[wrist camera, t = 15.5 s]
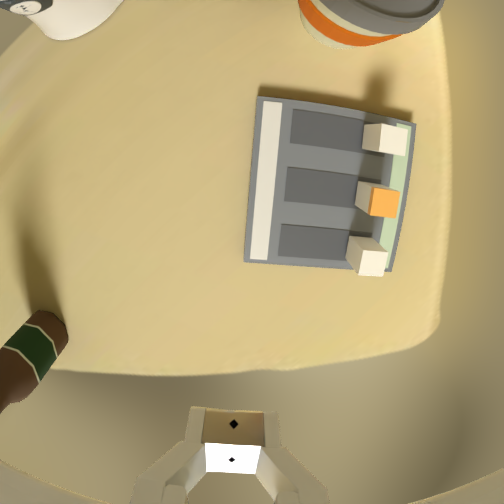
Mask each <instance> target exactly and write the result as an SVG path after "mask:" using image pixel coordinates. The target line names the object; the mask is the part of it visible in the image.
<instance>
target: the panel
mask: <svg viewBox="0 0 504 504" xmlns="http://www.w3.org/2000/svg"><path fill="white" fill-rule="evenodd" d="M381 123H382V124H387V125H391V126H395V127H399V128H404V129H408V134H407V144H406V152H405V156H400V155H394V154H387V153H382V152H376V151H371V150H365V149H362V142H363V133H364V125H367V124H381ZM415 131H416V124H415V123H411V122H407V121H403V120H399V119H395V118H391V117H387V116H383V115H378V114H374V113H369V112H364V111H359V110H354V109H349V108H343V107H338V106H332V105H326V104H319V103H313V102H306V101H298V100H290V99H282V98H272V97H262V96H257V105H256V116H255V128H254V139H253V151H252V163H251V175H250V187H249V199H248V211H247V224H246V236H245V248H244V262H249V263H263V264H277V265H292V266H306V267H321V268H337V269H352V270H354V269H353V268H352V266H351V265H350V264H349V262H348V261H347V260H346V258H345V257H346V252H347V246H348V241H349V236H357V237H368V238H373V239H374V240H375V241H376V242H377V243H379V244H380V245H381V246H382V247H383V248H384V249H385V250H387V251H388V252H389V253H388V257H387V261H386V266H385V270H384V272H391V271H392V267H393V263H394V259H395V255H396V250H397V246H398V241H399V236H400V231H401V226H402V221H403V216H404V211H405V205H406V199H407V193H408V187H409V180H410V173H411V166H412V158H413V150H414V141H415ZM358 181H362V182H369V183H375V184H381V185H384V186H387V187H389V188H392V189H394V190H397V191H399V192H400V197H399V203H398V209H397V214H396V219H395V218H388V217H380V216H372V215H369V214H367V213H366V212H364V211H363V210H362V209H360V208H359V207H357V206H356V205H355V200H356V193H357V186H358Z"/></svg>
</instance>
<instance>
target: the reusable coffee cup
mask: <svg viewBox="0 0 504 504" xmlns="http://www.w3.org/2000/svg"><path fill="white" fill-rule="evenodd" d="M298 3H299V6H300V17H301V21H302V24H303V26H304V28H305V29H306V30H307V32H308V33H309V34H310V35H311V36H312V37H313V38H314V39H316V40H317V41H318V42H320V43H322V44H324V45H326V46H328V47H332V48H336V49H351V48H355V47H358V46H369V45H374V44H377V43H380V42H384V41H387V40H390V39H393V38H396V37H398V36H401V35H402V34H406V33H410V32H412V31H415V30H417V29H419V28H420V27H421V26H423V25H424V24H425V23H426V22H428V21H429V20H430V19H431V18H433V17H434V16H435V15H436V14H437V13H438V12H439V11H440V9H441V8H442V6H443V3H444V0H298Z"/></svg>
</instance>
